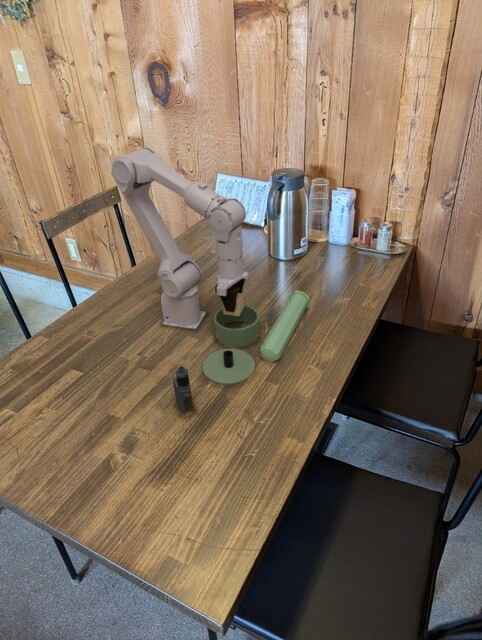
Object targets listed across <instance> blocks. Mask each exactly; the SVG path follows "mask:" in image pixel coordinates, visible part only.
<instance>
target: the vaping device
mask: <svg viewBox="0 0 482 640" xmlns="http://www.w3.org/2000/svg"><path fill="white" fill-rule="evenodd" d="M172 384H173V390H174V396H175V401H176V403H177V405H178V407H179V409H180V411H181V413H182V414H183V415H186V414H190V413H192V412H194V410H195V408H194V403H193V395H192V388H191V384H190V377H189V370H188V369H187V368H185V367H184V366H182V365H181V366H179V367H178V368H177V369H176V370H175V372H174V374H173V378H172Z"/></svg>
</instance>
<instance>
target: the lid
mask: <svg viewBox="0 0 482 640" xmlns="http://www.w3.org/2000/svg"><path fill="white" fill-rule="evenodd" d="M255 369H256V361H255V359H254V357H253V356H252V355H251V354H249V353H248V352H247V351H246V350H245V351H244V350H242V349H239V348H238V349H237V348H223V349H219V350H216V351H213V352H212V353H211V354H209V355H208V356H207V357H206V358H205V359H204V361H203V364H202V371H203V374H204V376H205V377H206V378H207V379H208V380H209V381H210V382H212V383H215V384H218V385H223V386H224V385H226V386H227V385H236V384H239V383H242V382H245V381H247V380H248V379H249V378H250V377H251V376H252V375H253V374H254V372H255Z"/></svg>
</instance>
